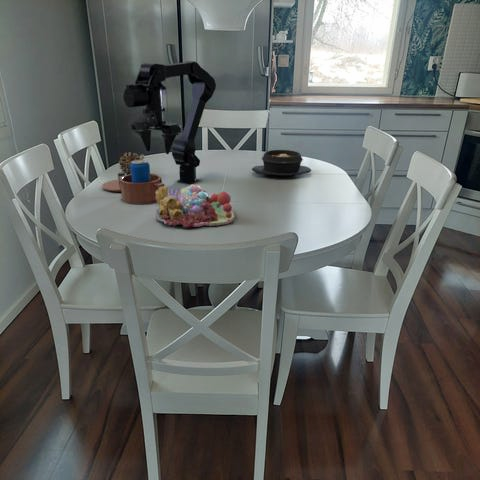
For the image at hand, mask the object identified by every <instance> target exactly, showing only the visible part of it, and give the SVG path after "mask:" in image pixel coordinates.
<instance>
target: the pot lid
mask: <svg viewBox="0 0 480 480" xmlns="http://www.w3.org/2000/svg"><path fill="white" fill-rule="evenodd" d="M125 175H126V173H124V172H122V171H120V172H117V179H112V180H109V181H106V182H104V183H102V185H101V188H102V189H103V190H105V191H109V192H120V193H121V186H120V180H119V178H118V177H120V176H125Z"/></svg>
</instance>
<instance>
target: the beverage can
mask: <svg viewBox="0 0 480 480" xmlns="http://www.w3.org/2000/svg"><path fill="white" fill-rule="evenodd" d="M130 168H131V177H132V183H146V182H151V175H150V174H151V166H150V163H149V161H148V160H147V159H143V160H133V161H131V165H130Z"/></svg>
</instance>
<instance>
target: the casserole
mask: <svg viewBox="0 0 480 480" xmlns="http://www.w3.org/2000/svg"><path fill="white" fill-rule="evenodd" d="M261 160H262V162H263V164H261V165H255V166H253V167H252V168H251V171H252V172H253V173H256V174H262V175H263V174H264V175H269V176H271V177H276V178H288V177H289V178H290V177H293V176H294V177H295V175H304V174H310V173H311V172H312V171H313V170H312V169H311V168H310V167H309V166H306V165H301V163H302V162H303V160H304V159H303V157H302V154H301V153H300V152H299V151H295V150H290V149H288V150H287V149H272V150H267V151H265V152H264V153H263V156H262V157H261Z"/></svg>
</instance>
